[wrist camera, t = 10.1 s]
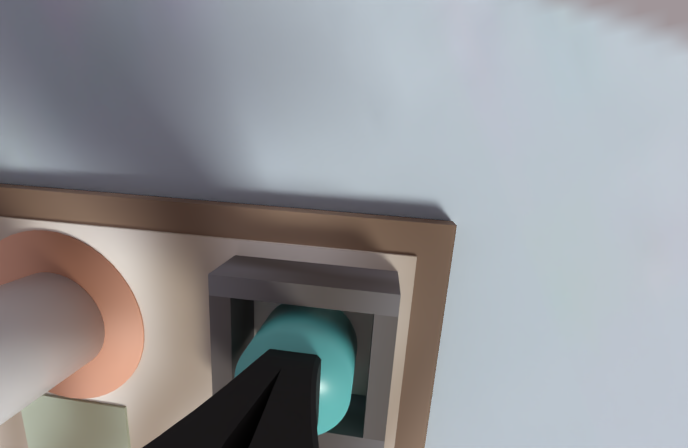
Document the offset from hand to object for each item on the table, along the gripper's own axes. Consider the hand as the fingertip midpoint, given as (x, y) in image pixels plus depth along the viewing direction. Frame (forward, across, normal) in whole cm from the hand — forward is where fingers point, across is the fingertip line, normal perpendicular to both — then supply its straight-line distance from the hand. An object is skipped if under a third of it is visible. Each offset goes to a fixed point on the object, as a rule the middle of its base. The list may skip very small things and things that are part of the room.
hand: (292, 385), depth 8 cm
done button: (+3, 0, 0) cm, 3 cm away
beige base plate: (+3, +5, +3) cm, 7 cm away
